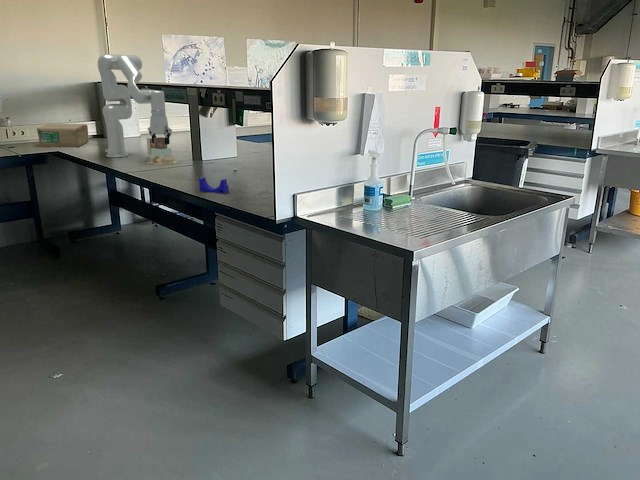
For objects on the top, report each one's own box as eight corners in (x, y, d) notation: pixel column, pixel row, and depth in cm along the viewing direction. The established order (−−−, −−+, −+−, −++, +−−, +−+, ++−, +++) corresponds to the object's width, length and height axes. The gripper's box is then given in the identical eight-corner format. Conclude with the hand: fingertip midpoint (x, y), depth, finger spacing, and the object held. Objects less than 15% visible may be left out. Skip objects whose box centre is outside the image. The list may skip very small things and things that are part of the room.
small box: (151, 160, 316) (149, 138, 312) (148, 158, 321) (146, 137, 317) (164, 159, 320) (162, 137, 316) (161, 157, 325) (159, 136, 321)
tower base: (150, 162, 304) (150, 155, 303) (161, 160, 312) (161, 153, 310) (162, 163, 300) (162, 156, 299) (173, 161, 308) (173, 154, 307)
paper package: (38, 147, 358) (35, 126, 354) (50, 142, 383) (47, 123, 378) (80, 147, 362) (77, 127, 358) (89, 142, 387) (87, 123, 382)
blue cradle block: (228, 191, 238) (228, 178, 236) (224, 193, 233) (223, 180, 232) (204, 189, 241) (203, 176, 239) (199, 191, 237) (199, 178, 235)
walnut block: (154, 148, 302) (153, 137, 301) (160, 147, 307) (159, 137, 305) (161, 149, 300) (160, 138, 298) (167, 148, 305) (166, 137, 303)
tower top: (151, 155, 303) (150, 148, 302) (161, 153, 310) (160, 147, 309) (162, 156, 300) (161, 149, 298) (171, 154, 306) (171, 148, 305)
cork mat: (144, 163, 303) (144, 162, 303) (161, 160, 315) (161, 159, 315) (163, 166, 297) (163, 164, 297) (179, 162, 309) (179, 161, 309)
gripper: (142, 112, 298) (144, 143, 303) (165, 114, 291) (167, 145, 296) (151, 112, 304) (154, 142, 310) (175, 113, 297) (177, 144, 302)
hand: (160, 143), depth 303 cm, fingers open, 9 cm apart
